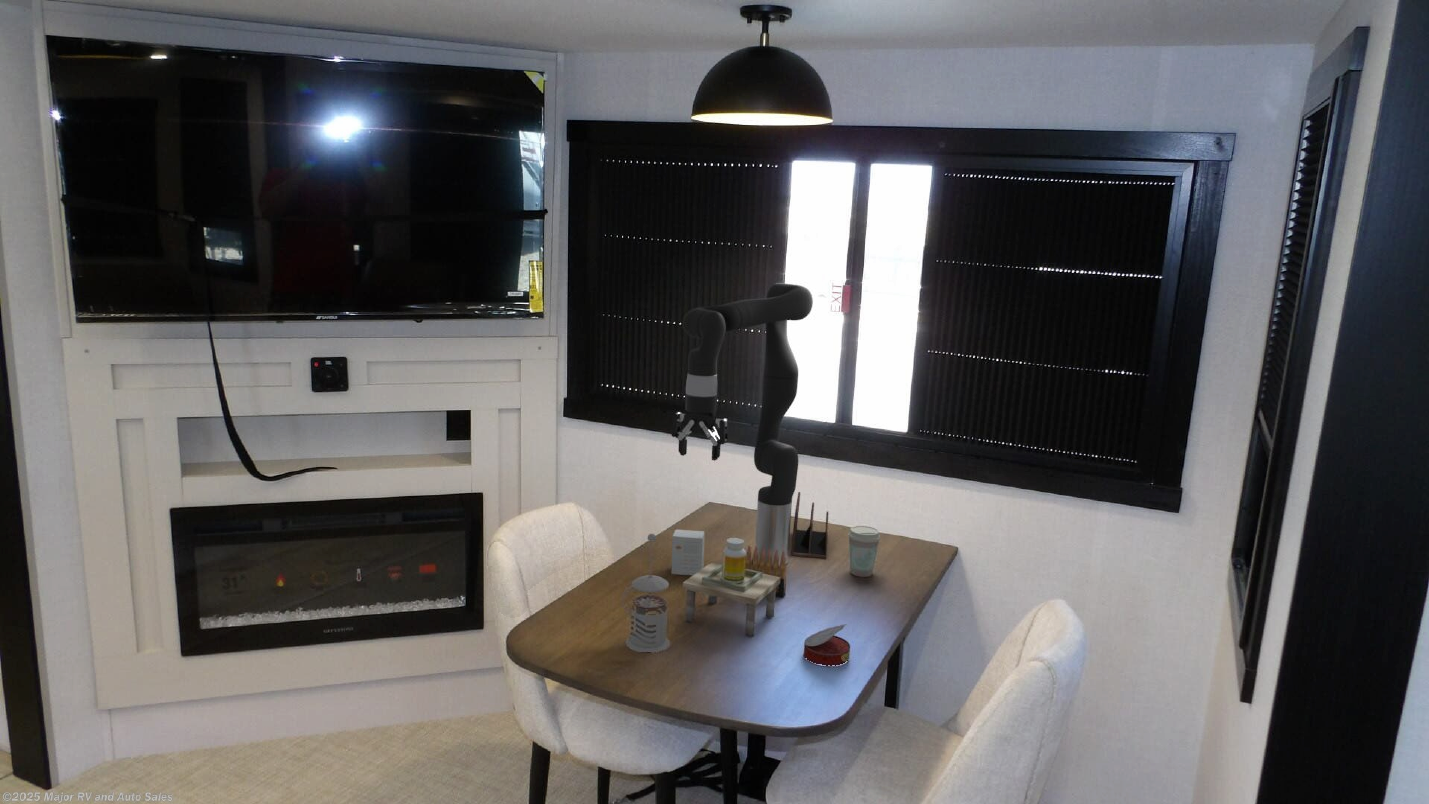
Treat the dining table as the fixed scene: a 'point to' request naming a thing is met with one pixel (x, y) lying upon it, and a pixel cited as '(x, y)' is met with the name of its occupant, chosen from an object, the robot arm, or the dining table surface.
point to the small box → (687, 552)
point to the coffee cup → (863, 549)
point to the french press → (651, 635)
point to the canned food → (827, 647)
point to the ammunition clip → (769, 567)
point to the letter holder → (809, 538)
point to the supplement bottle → (734, 561)
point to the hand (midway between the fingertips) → (698, 457)
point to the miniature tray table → (732, 592)
